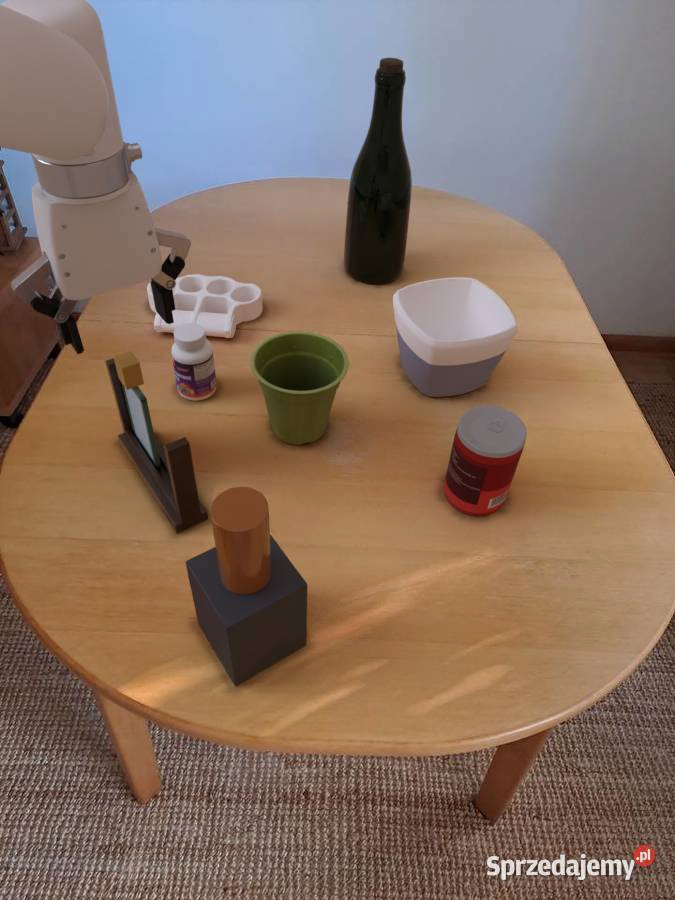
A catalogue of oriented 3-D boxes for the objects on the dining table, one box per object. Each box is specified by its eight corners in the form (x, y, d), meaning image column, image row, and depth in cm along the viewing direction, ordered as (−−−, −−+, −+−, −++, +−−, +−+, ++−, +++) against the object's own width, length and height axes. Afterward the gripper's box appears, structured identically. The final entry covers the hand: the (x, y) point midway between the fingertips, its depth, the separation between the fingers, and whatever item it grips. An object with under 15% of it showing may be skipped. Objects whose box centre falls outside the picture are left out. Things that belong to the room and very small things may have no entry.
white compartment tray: (134, 336, 101) (160, 283, 111) (253, 345, 101) (267, 292, 111) (130, 317, 99) (157, 265, 109) (252, 327, 98) (267, 274, 108)
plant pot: (250, 458, 84) (245, 390, 76) (258, 396, 93) (255, 328, 85) (344, 461, 85) (349, 394, 77) (344, 399, 93) (348, 332, 85)
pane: (151, 471, 80) (130, 380, 70) (128, 436, 84) (105, 345, 74) (166, 464, 81) (148, 374, 71) (143, 430, 85) (122, 339, 75)
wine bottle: (407, 260, 120) (434, 53, 96) (396, 290, 113) (422, 75, 89) (351, 250, 122) (363, 45, 98) (336, 280, 114) (346, 66, 91)
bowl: (464, 333, 105) (478, 270, 97) (514, 394, 95) (534, 330, 87) (374, 350, 101) (380, 285, 93) (416, 416, 91) (428, 350, 83)
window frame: (176, 534, 76) (159, 454, 66) (119, 443, 85) (98, 362, 76) (209, 519, 77) (196, 439, 68) (149, 432, 87) (131, 351, 78)
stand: (235, 687, 64) (226, 628, 56) (198, 623, 68) (184, 561, 60) (306, 645, 67) (308, 584, 59) (266, 587, 71) (262, 523, 64)
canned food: (508, 476, 84) (530, 412, 76) (501, 525, 79) (524, 460, 71) (448, 463, 85) (463, 398, 77) (437, 509, 80) (452, 444, 72)
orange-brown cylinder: (235, 603, 57) (227, 540, 51) (210, 565, 60) (200, 501, 54) (281, 579, 59) (279, 515, 53) (255, 543, 62) (250, 478, 55)
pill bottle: (170, 387, 93) (159, 329, 86) (202, 371, 96) (195, 314, 89) (191, 407, 91) (183, 349, 84) (224, 390, 93) (218, 333, 86)
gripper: (159, 134, 63) (182, 290, 76) (-35, 173, 56) (26, 339, 68) (194, 163, 59) (213, 324, 71) (-10, 210, 52) (50, 379, 64)
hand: (121, 331), depth 70 cm, fingers open, 9 cm apart
